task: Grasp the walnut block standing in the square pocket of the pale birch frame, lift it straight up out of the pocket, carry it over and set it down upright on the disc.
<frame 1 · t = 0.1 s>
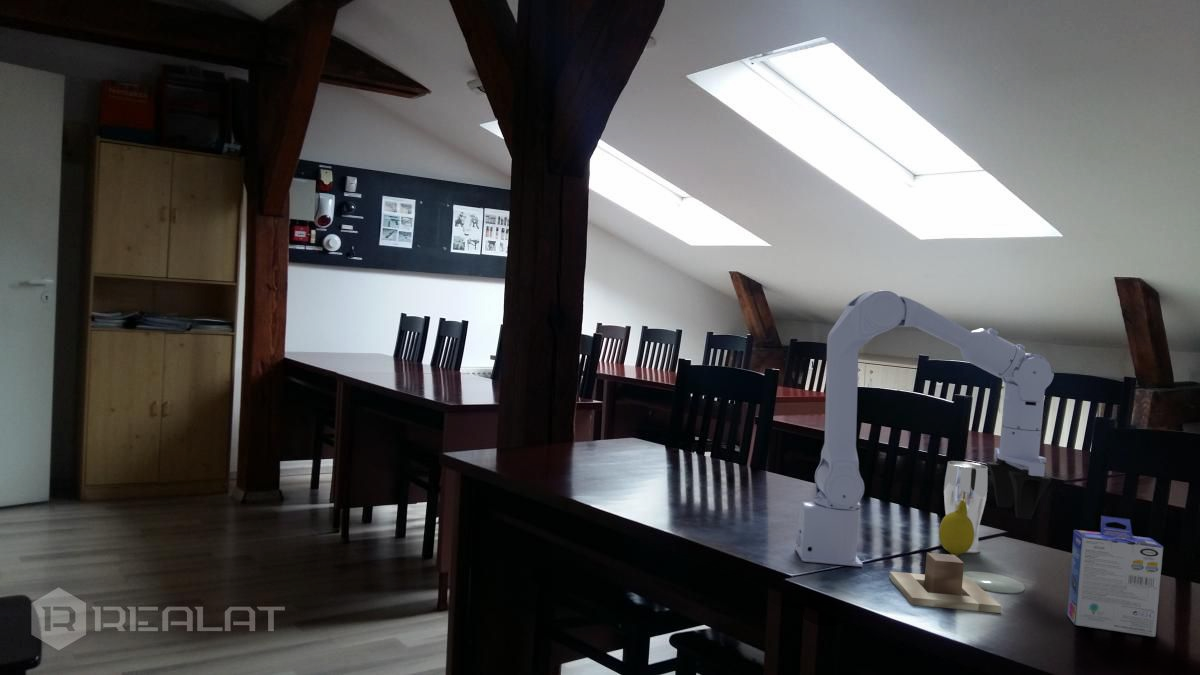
hand: (1013, 512, 137), 10 cm above the table, fingers open, 7 cm apart
beer glass: (960, 549, 151), on the table
walnut block: (941, 595, 124), resting in pocket block
ink cartridge box: (1109, 627, 116), on the table
pocket block: (942, 594, 124), on the table
lemon: (954, 557, 146), on the table
disc: (991, 583, 132), on the table
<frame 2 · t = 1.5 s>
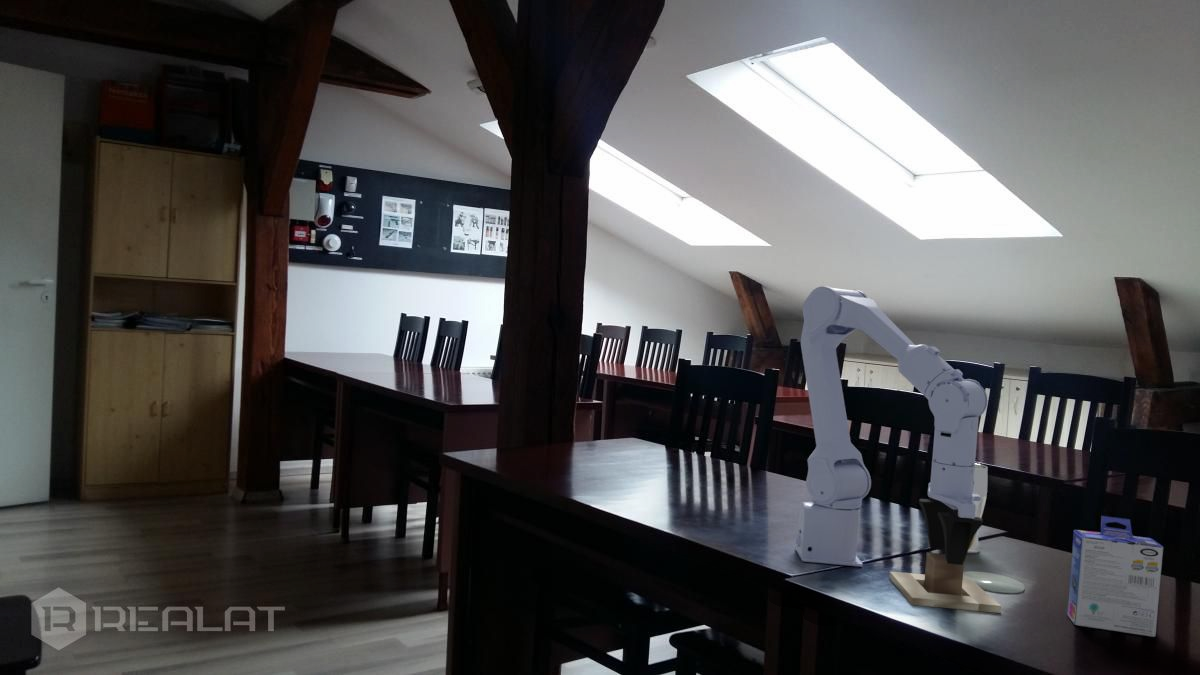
hand: (945, 556, 124), 6 cm above the table, fingers open, 7 cm apart
nothing on the table moved.
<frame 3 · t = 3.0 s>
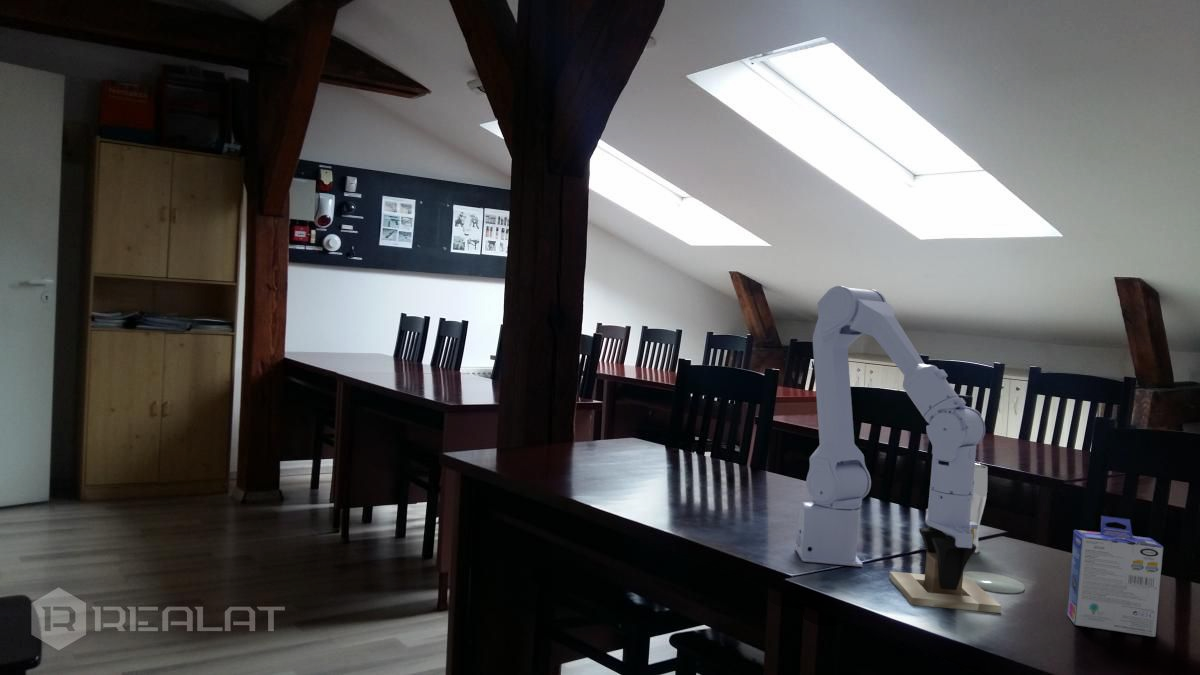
hand: (942, 583, 124), 2 cm above the table, fingers closed on walnut block, 4 cm apart
walnut block: (941, 594, 124), resting in pocket block, touching gripper
everything else where it was.
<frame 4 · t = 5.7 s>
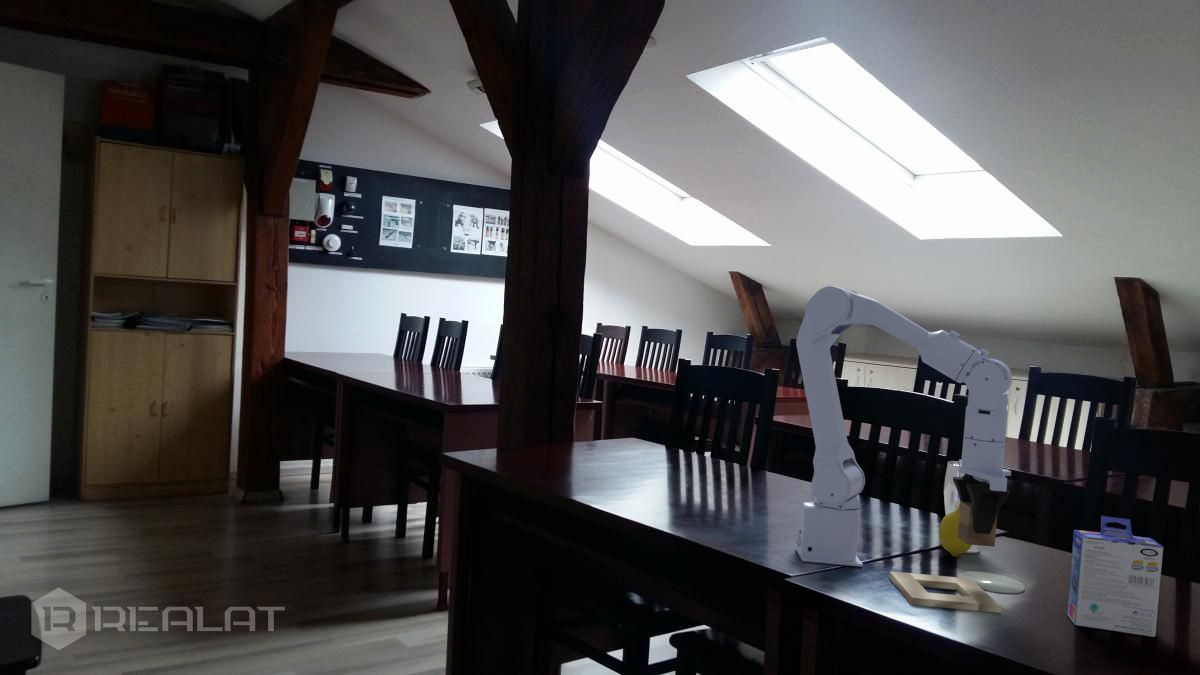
hand: (976, 529, 128), 9 cm above the table, fingers closed on walnut block, 4 cm apart
walnut block: (975, 541, 128), point 7 cm above the table, touching gripper
everything else where it was.
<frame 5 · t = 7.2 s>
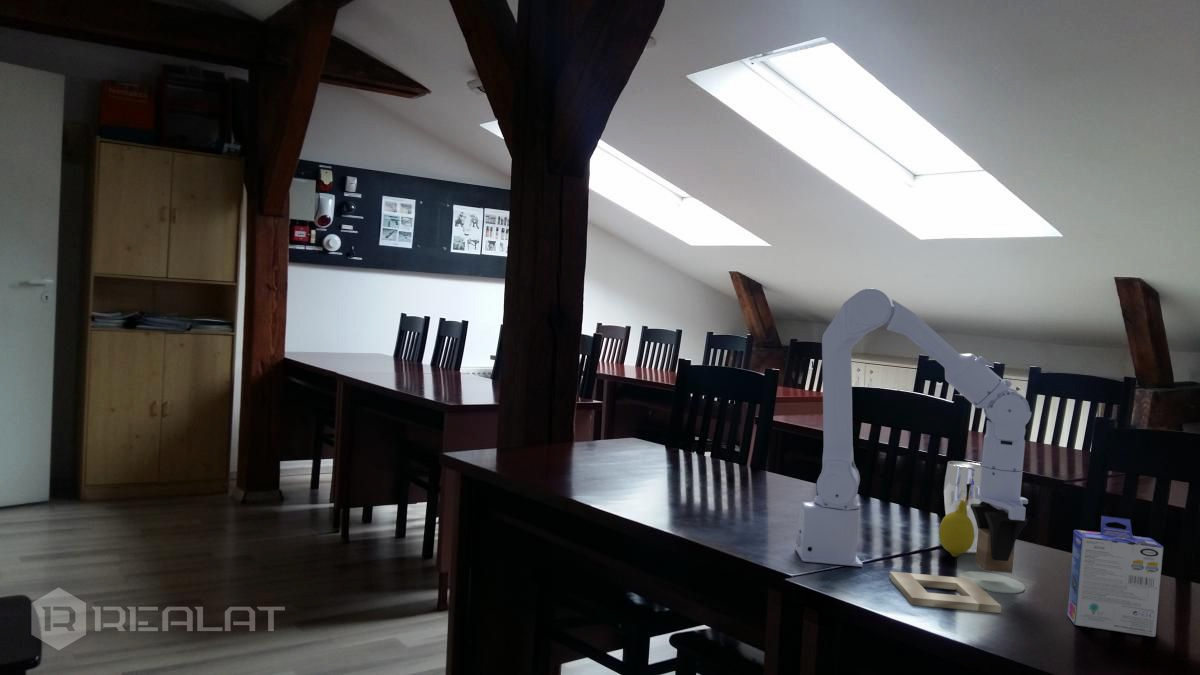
hand: (994, 555, 131), 4 cm above the table, fingers closed on walnut block, 4 cm apart
walnut block: (993, 567, 132), point 2 cm above the table, touching gripper
everything else where it was.
when the fingers open (3 cm above the table, at t = 8.4 s): walnut block stays where it is, resting on disc.
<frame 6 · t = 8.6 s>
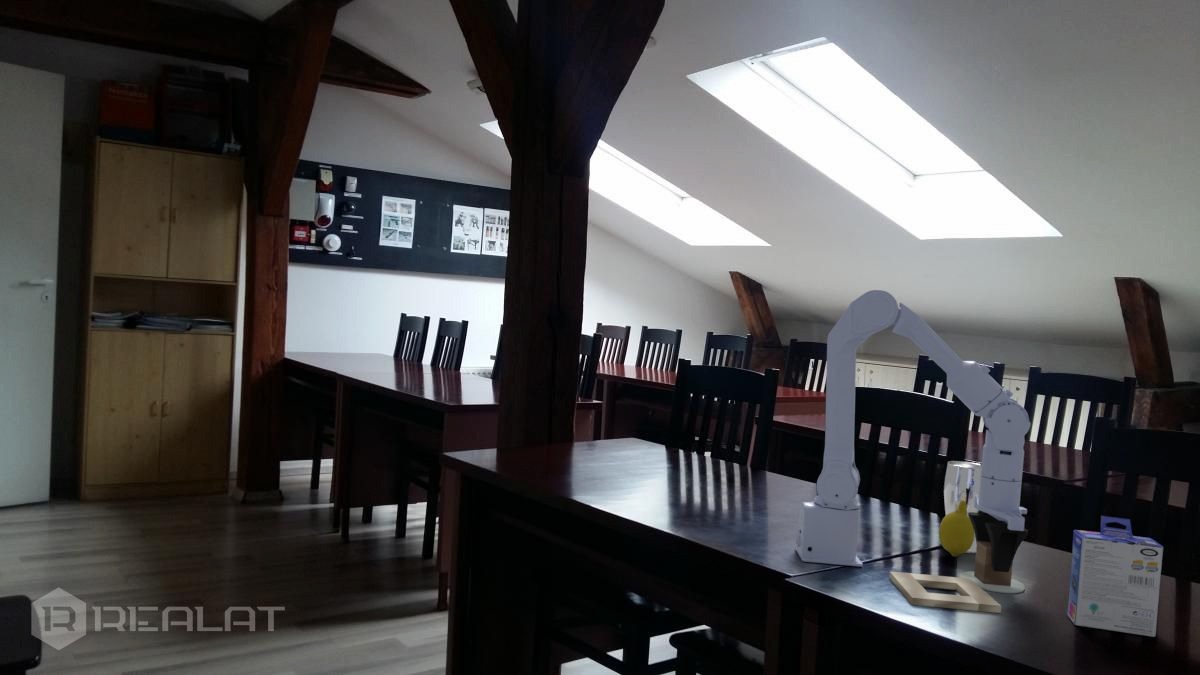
hand: (993, 565, 132), 3 cm above the table, fingers open, 5 cm apart
walnut block: (991, 580, 132), resting on disc
everything else where it was.
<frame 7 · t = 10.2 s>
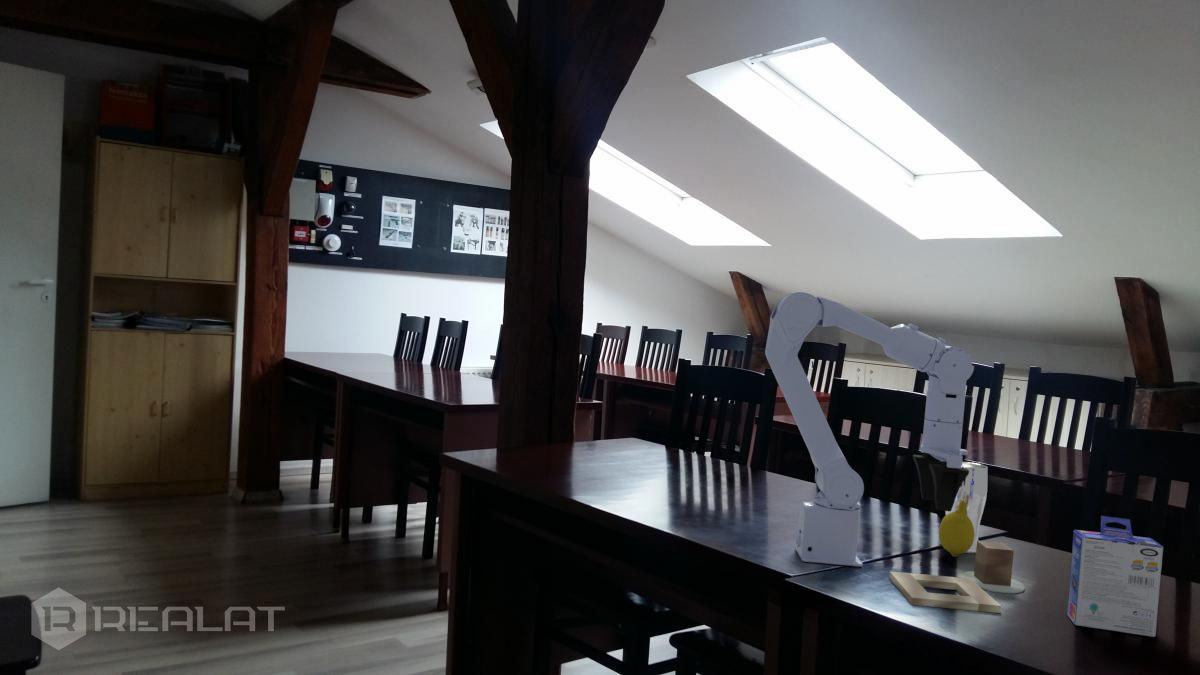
hand: (935, 504, 137), 10 cm above the table, fingers open, 7 cm apart
nothing on the table moved.
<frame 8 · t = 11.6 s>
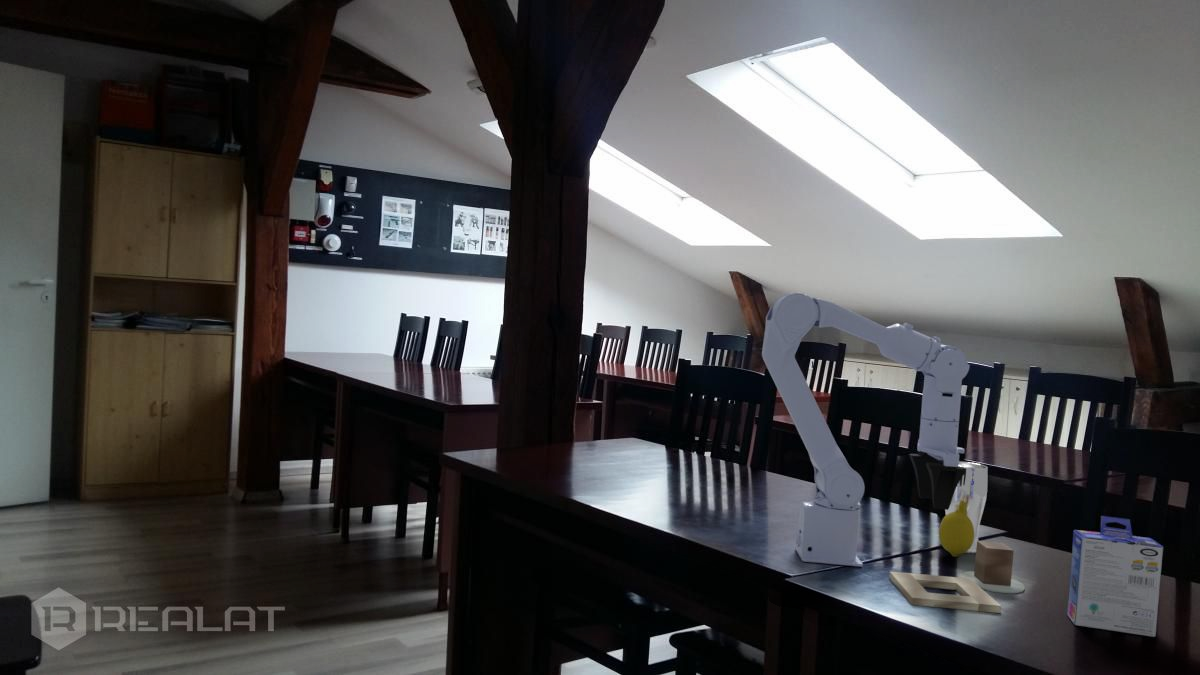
hand: (933, 503, 138), 10 cm above the table, fingers open, 7 cm apart
nothing on the table moved.
at the end: walnut block 0.0 cm from the disc (horizontally); walnut block resting on disc; walnut block tilted 0° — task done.
